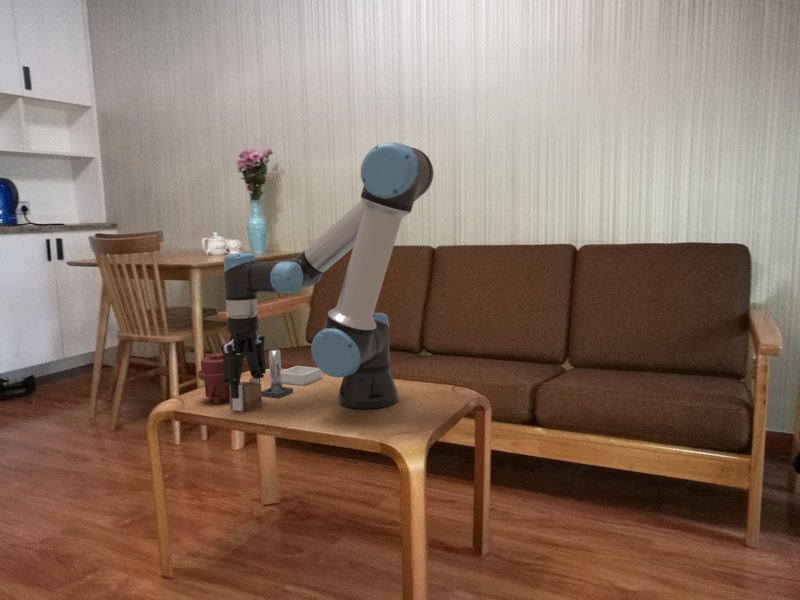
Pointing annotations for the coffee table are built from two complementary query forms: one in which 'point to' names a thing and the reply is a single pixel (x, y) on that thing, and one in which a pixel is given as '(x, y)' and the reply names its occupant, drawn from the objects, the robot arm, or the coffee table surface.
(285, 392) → the socket
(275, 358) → the pin
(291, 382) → the tray
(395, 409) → the coffee table surface
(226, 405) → the coffee table surface
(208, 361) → the mechanical component
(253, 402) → the block
